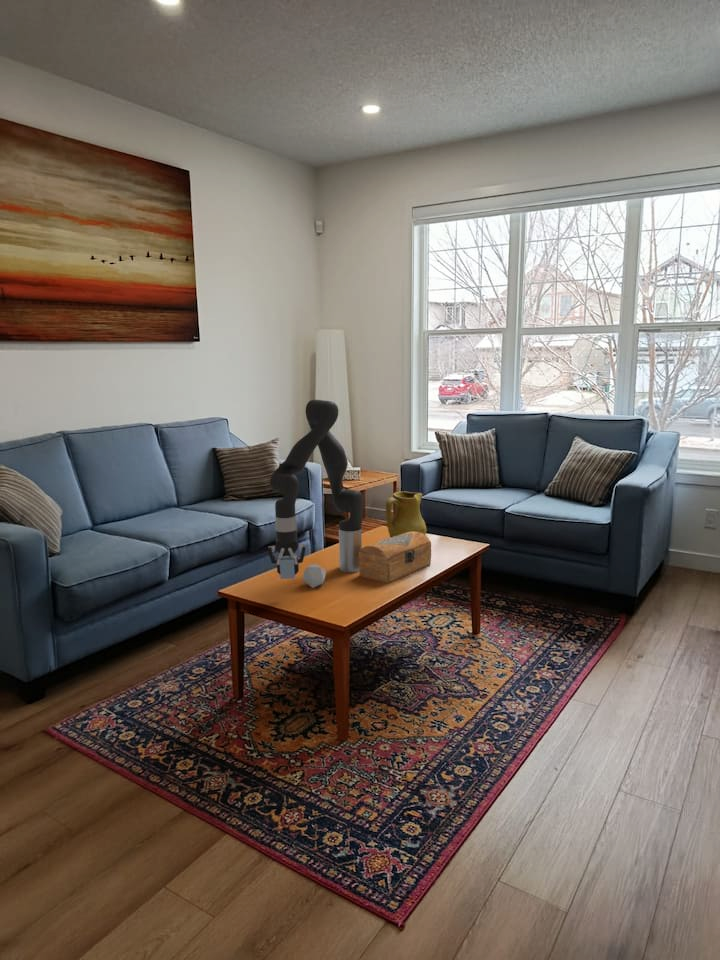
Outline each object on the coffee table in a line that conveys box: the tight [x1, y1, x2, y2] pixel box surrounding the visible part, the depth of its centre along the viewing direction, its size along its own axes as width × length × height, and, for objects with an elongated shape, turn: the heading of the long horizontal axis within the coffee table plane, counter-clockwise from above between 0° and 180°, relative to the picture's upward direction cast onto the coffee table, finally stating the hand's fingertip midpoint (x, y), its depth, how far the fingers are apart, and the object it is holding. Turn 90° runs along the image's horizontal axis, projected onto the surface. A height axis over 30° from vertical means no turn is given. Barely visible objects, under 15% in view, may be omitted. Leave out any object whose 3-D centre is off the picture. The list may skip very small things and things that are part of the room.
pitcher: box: [385, 490, 427, 538], centre depth 308 cm, size 17×19×25 cm
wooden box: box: [358, 531, 432, 584], centre depth 274 cm, size 30×16×14 cm, turn 139°
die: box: [301, 562, 327, 589], centre depth 257 cm, size 8×9×10 cm
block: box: [279, 556, 297, 580], centre depth 242 cm, size 5×5×7 cm
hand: (288, 573), depth 243 cm, fingers closed on block, 5 cm apart
